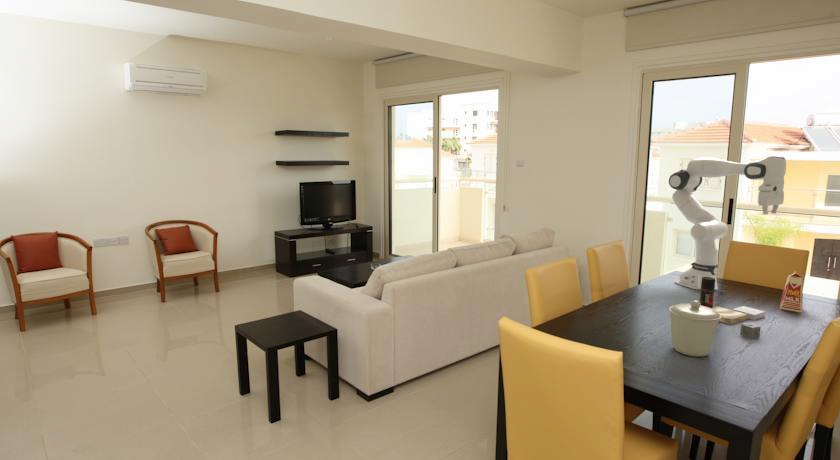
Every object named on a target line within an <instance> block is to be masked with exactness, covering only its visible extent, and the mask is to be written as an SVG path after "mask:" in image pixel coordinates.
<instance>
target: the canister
mask: <svg viewBox="0 0 840 460" xmlns="http://www.w3.org/2000/svg"><path fill="white" fill-rule="evenodd" d="M668 310H669V313H670V334H671V345H672V347H673V349H674V350H675V351H676V352H678V353H680V354H682V355H686V356H690V357H697V358H699V357H701V358H702V357H705V356H708V355H709V354H710V353H711V351H712V350H713V349H712V348H713V345H714V341H715V337H716V334H717V329H718V325H719V322H720V321H719V319H721V314H719V313H718V312H717V311H715V310H714V309H711V308H709V307H706V306H702V305H701V303H700V300H695V299H694V300H691V301H690V303H678V304H673V305H672V306H669V308H668Z"/></svg>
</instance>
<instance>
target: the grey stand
mask: <svg viewBox="0 0 840 460" xmlns="http://www.w3.org/2000/svg"><path fill="white" fill-rule="evenodd" d="M732 310H733V311H737V312H741V313H744V314H748V318H747V320H748V319H749V320H752V321H756V320H759V319H762V318H765V316H766V311H765V310H760V309H756V308H752V307H750V306H749V307H748V306H745V305H742V306H738V307H735V308H733V309H732Z"/></svg>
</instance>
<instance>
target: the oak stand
mask: <svg viewBox="0 0 840 460" xmlns="http://www.w3.org/2000/svg"><path fill="white" fill-rule="evenodd" d="M711 309H714V310H715V311H717V312H718V313H719V314H721V319H719V322H722V323H726V324H728V325H734V324H736V323H740V322H744V321H747V320H748V314H744V313H741V312H737V311H733V309H729V308H727V307H726V308H725V307H722V306H718V305H717V306H714V307H712V308H711Z"/></svg>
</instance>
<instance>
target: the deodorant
mask: <svg viewBox="0 0 840 460" xmlns="http://www.w3.org/2000/svg"><path fill="white" fill-rule="evenodd" d="M714 288H715V278H711V277H702V283H701V289H700V293H699V294H700V295H699V302H700V303H701V305H702V306H706V307H709V308H714V307H713V305H714V298H715V297H714V296H715V290H714Z"/></svg>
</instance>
